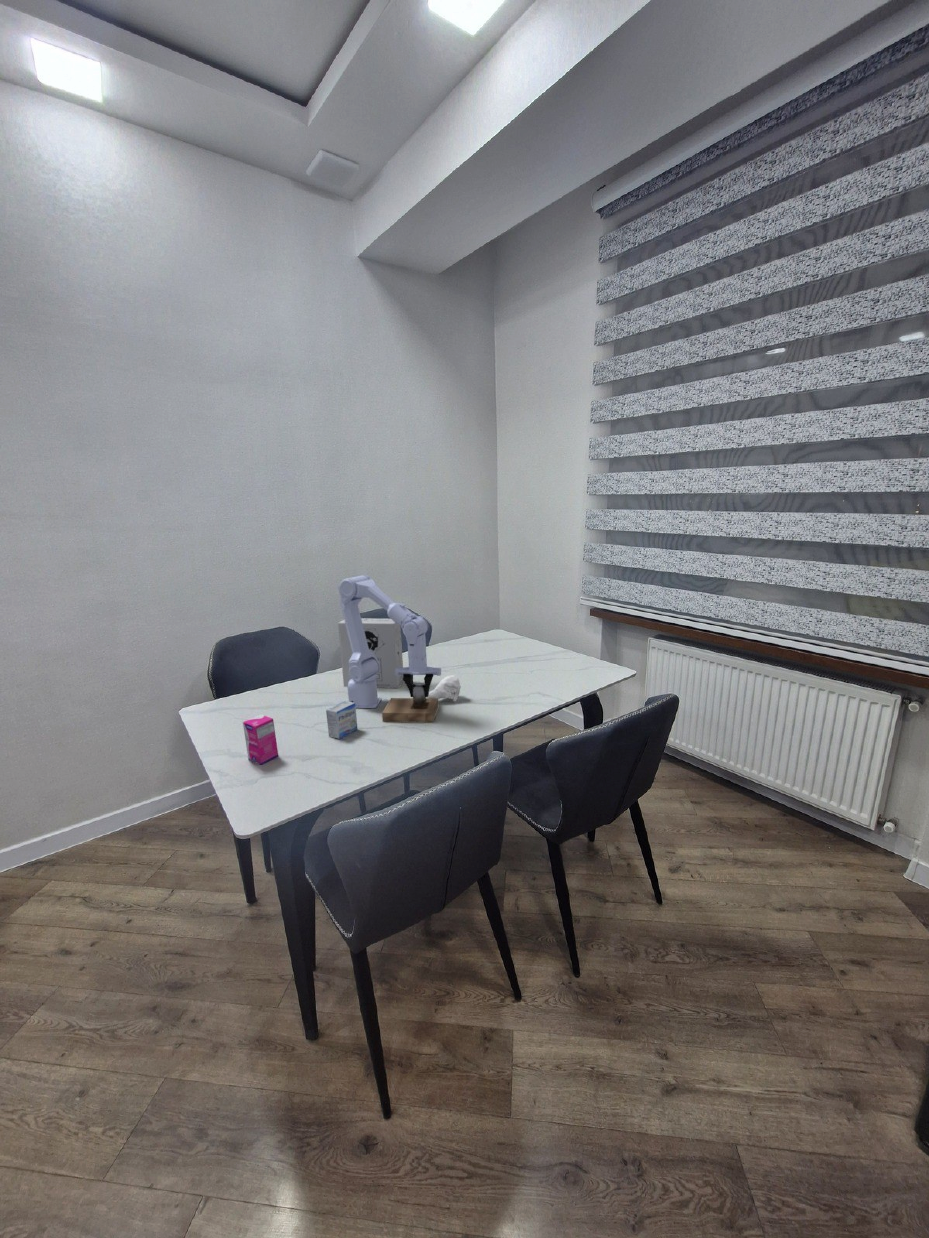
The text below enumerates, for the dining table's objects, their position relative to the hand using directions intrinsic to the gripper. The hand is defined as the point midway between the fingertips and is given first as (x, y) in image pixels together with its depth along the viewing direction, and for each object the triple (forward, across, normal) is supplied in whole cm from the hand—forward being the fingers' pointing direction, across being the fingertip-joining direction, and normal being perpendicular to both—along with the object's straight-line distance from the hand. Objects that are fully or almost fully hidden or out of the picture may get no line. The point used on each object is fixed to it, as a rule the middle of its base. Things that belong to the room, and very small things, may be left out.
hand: (419, 696), depth 158 cm
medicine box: (+6, -21, -14) cm, 26 cm away
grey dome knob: (+2, 0, 0) cm, 2 cm away
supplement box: (+6, -38, -30) cm, 49 cm away
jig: (+6, -3, 0) cm, 7 cm away
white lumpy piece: (+6, +6, +11) cm, 14 cm away
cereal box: (+6, -23, +27) cm, 36 cm away
